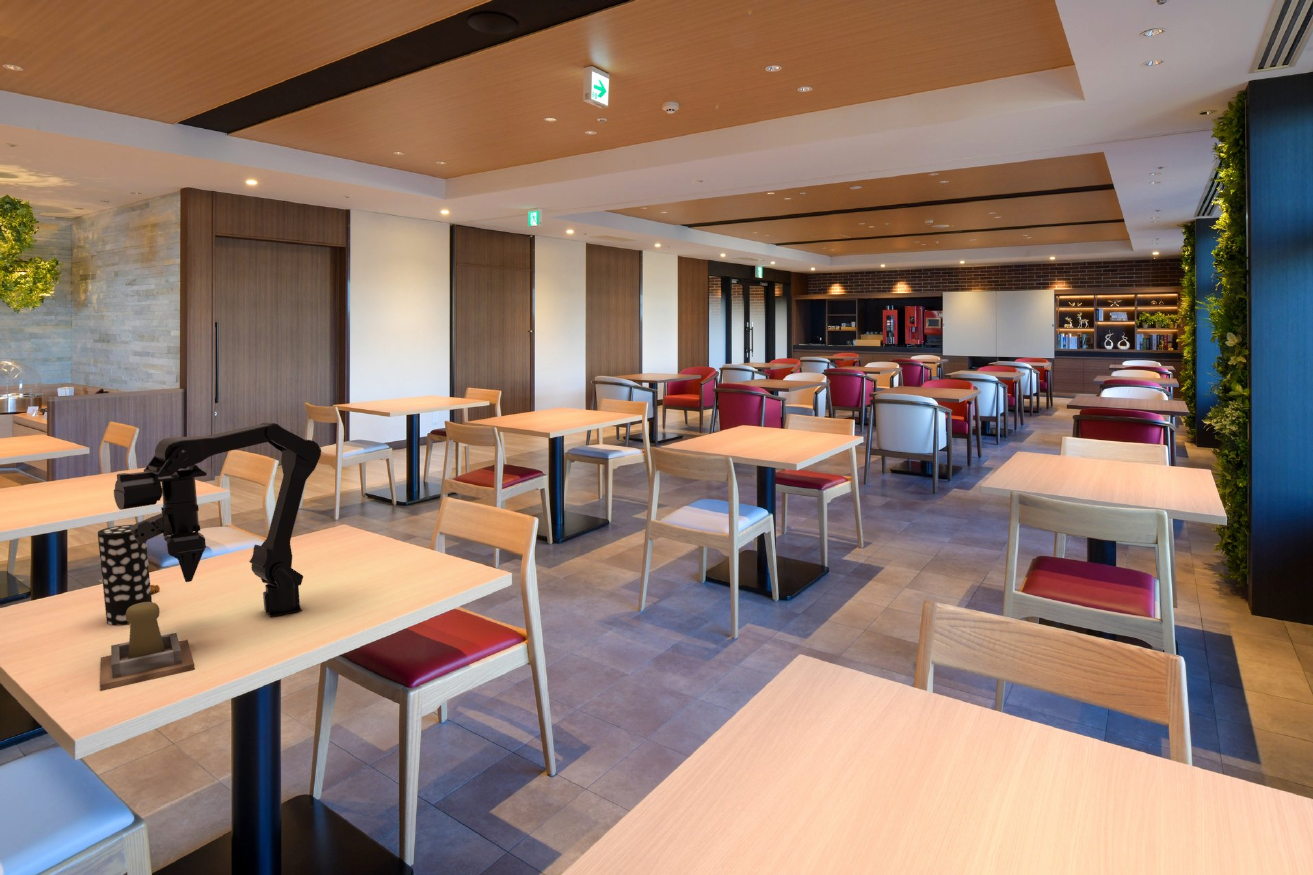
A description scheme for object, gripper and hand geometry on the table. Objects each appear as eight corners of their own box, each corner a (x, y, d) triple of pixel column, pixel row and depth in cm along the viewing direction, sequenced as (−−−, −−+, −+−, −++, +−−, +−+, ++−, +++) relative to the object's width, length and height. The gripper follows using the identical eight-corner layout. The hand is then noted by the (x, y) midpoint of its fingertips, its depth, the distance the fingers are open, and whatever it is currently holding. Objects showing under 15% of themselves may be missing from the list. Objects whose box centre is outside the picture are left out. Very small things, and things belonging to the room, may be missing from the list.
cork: (147, 668, 135) (141, 611, 133) (119, 666, 136) (113, 608, 134) (174, 654, 141) (169, 599, 139) (147, 652, 142) (142, 597, 140)
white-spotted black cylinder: (161, 614, 164) (153, 527, 161) (121, 627, 156) (112, 536, 154) (138, 608, 167) (130, 523, 165) (98, 621, 160) (88, 531, 157)
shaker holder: (188, 644, 148) (186, 627, 148) (194, 669, 137) (193, 651, 136) (101, 662, 140) (99, 644, 139) (100, 690, 129) (98, 671, 128)
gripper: (129, 497, 151) (137, 571, 153) (132, 515, 136) (140, 596, 138) (193, 491, 157) (199, 561, 159) (202, 507, 142) (209, 584, 144)
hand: (186, 575), depth 150 cm, fingers open, 9 cm apart
